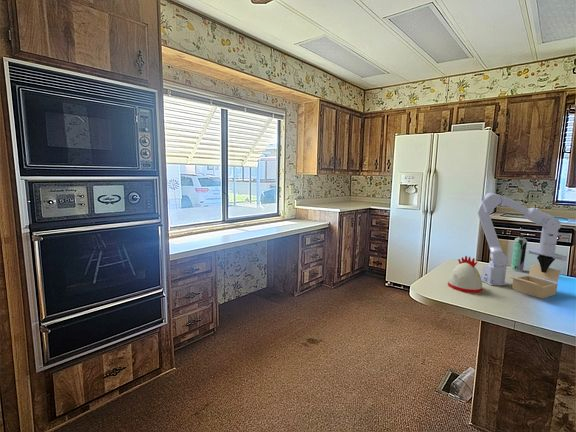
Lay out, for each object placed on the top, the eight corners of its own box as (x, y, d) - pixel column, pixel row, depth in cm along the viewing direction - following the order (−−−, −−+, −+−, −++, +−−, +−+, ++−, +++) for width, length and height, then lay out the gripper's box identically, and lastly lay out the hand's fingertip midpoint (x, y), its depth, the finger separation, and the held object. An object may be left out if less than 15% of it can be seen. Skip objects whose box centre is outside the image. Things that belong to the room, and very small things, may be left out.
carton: (541, 298, 136) (543, 287, 135) (511, 288, 146) (513, 278, 146) (556, 294, 141) (557, 283, 141) (526, 285, 152) (527, 275, 151)
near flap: (542, 286, 135) (542, 287, 135) (514, 278, 145) (513, 279, 145) (536, 283, 133) (536, 284, 133) (508, 275, 143) (508, 275, 143)
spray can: (524, 272, 172) (529, 236, 169) (513, 271, 173) (518, 235, 171) (519, 269, 178) (524, 234, 175) (509, 268, 179) (513, 233, 176)
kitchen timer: (473, 295, 138) (476, 262, 136) (442, 285, 149) (445, 254, 147) (487, 289, 146) (490, 257, 144) (456, 280, 157) (459, 250, 155)
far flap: (528, 274, 151) (529, 274, 151) (556, 282, 141) (557, 282, 141) (531, 263, 151) (532, 263, 151) (560, 270, 141) (560, 270, 141)
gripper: (572, 246, 139) (567, 275, 141) (534, 239, 152) (530, 266, 154) (564, 247, 136) (559, 277, 138) (526, 240, 148) (522, 268, 150)
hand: (543, 272), depth 145 cm, fingers closed, pressing on far flap
